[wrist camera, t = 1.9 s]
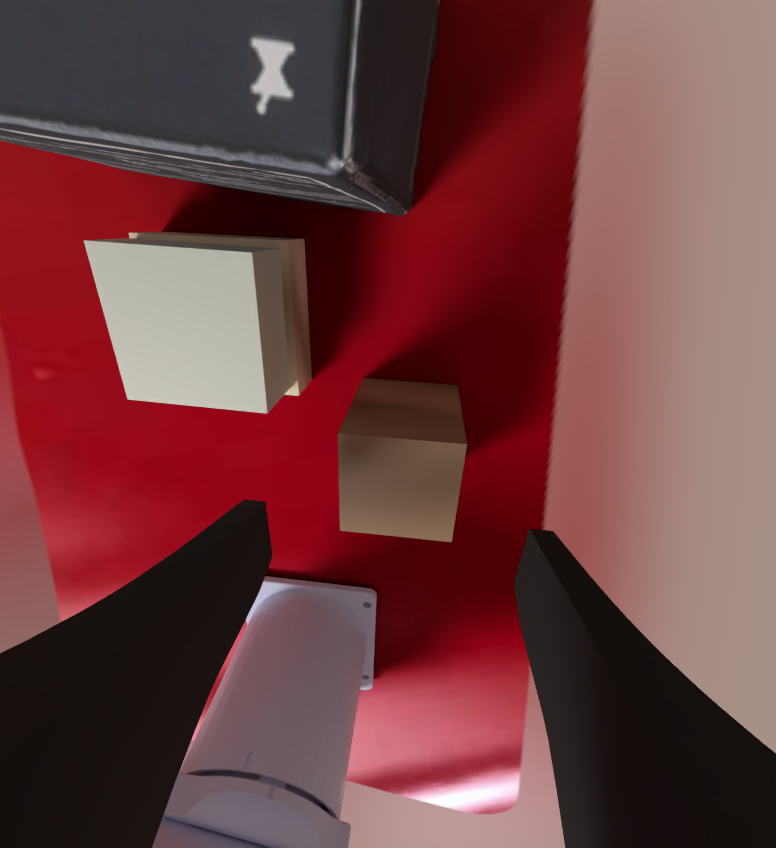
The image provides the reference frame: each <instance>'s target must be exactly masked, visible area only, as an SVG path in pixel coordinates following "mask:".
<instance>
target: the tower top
mask: <svg viewBox="0 0 776 848" xmlns="http://www.w3.org/2000/svg"><path fill="white" fill-rule="evenodd" d="M84 243H85V247H86V250H87V254H88V258H89V261H90V265H91V268H92V272H93V276H94V279H95V283H96V287H97V290H98V294H99V297H100V301H101V305H102V308H103V312H104V315H105V319H106V323H107V326H108V330H109V333H110V337H111V341H112V344H113V348H114V352H115V355H116V359H117V362H118V366H119V370H120V373H121V377H122V380H123V384H124V388H125V391H126V395H127V398H128V399H129V400H139V401H149V402H159V403H169V404H179V405H189V406H198V407H208V408H218V409H228V410H238V411H248V412H258V413H268V412H269V411H270V410H271V409H272V408H273V407H274V406H275V404H276V403H277V402H278V401H279V400H280V399H281V398H282V397H283V395H284V394H285V393H286V392H287V391H288V390H289V380H288V365H287V350H286V334H285V319H284V303H283V288H282V273H281V257H280V248H266V247H252V246H238V245H224V244H210V243H196V242H182V241H168V240H154V239H140V238H129V239H106V240H84Z"/></svg>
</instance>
